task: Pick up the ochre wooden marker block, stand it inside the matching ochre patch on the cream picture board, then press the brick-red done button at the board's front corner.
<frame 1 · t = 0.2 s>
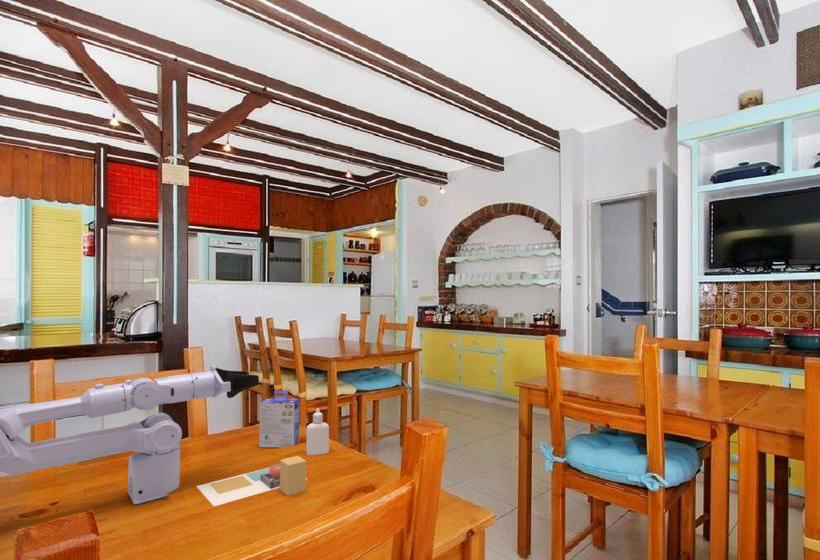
hand: (252, 377, 111), 22 cm above the table, tool horizontal, fingers open, 7 cm apart
ink cartridge box: (279, 445, 128), on the table
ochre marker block: (293, 494, 97), on the table
done button: (278, 471, 102), point 3 cm above the table, slide at 0.0 cm
picture board: (253, 486, 101), on the table
eye dropper bottle: (317, 456, 120), on the table
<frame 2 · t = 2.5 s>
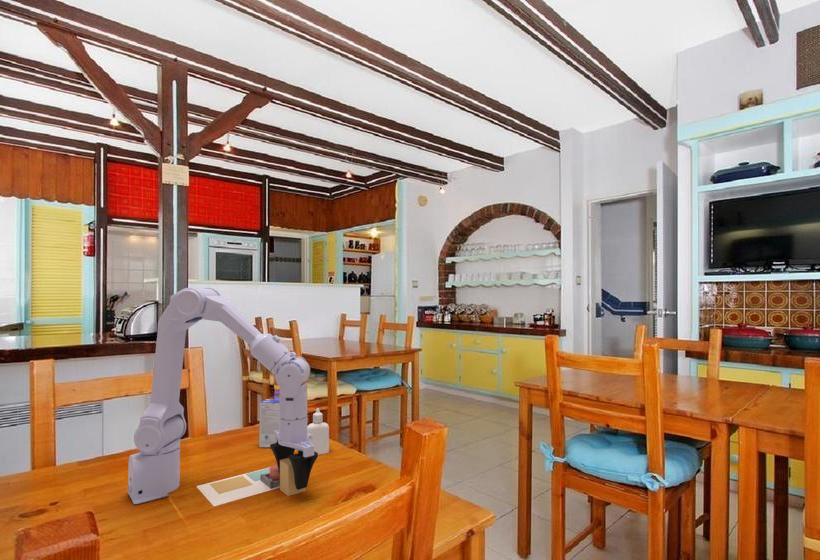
hand: (293, 482, 97), 2 cm above the table, tool pointing down, fingers open, 7 cm apart
done button: (278, 472, 102), point 3 cm above the table, slide at 0.3 cm, touching gripper
everything else where it was.
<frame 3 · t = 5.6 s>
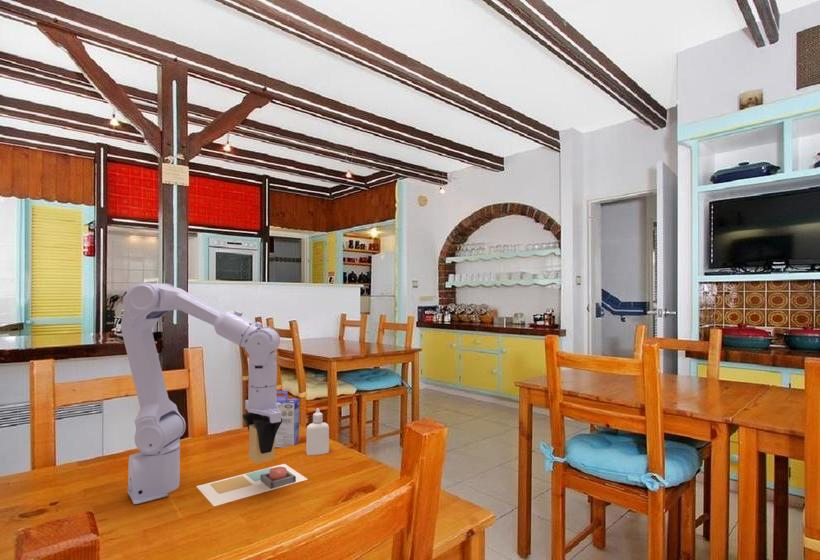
hand: (261, 449, 99), 9 cm above the table, tool pointing down, fingers closed on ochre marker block, 4 cm apart
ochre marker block: (261, 458, 99), point 7 cm above the table, touching gripper
done button: (278, 474, 102), point 2 cm above the table, slide at 0.8 cm
everything else where it was.
when the fingers open (4 cm above the table, at t = 7.8 s): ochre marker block stays where it is, resting on picture board.
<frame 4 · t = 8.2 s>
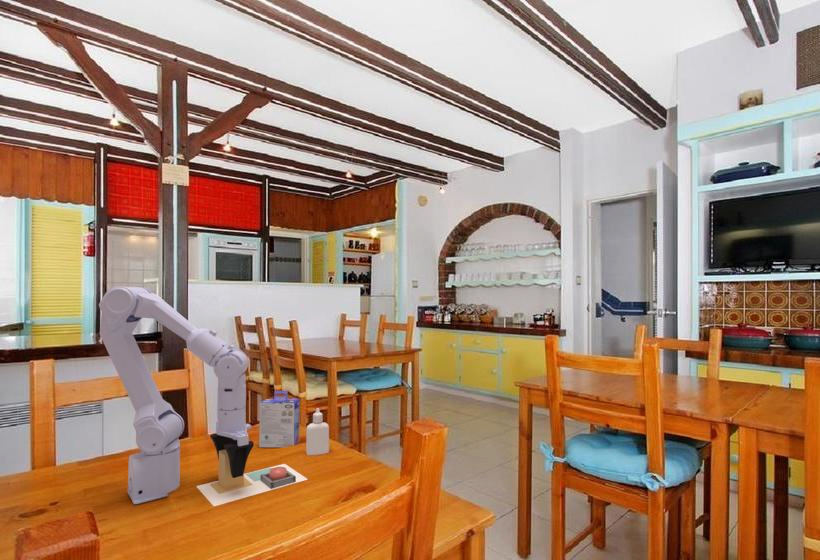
hand: (231, 471, 100), 4 cm above the table, tool pointing down, fingers open, 7 cm apart
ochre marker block: (231, 484, 100), point 1 cm above the table, touching picture board
everything else where it was.
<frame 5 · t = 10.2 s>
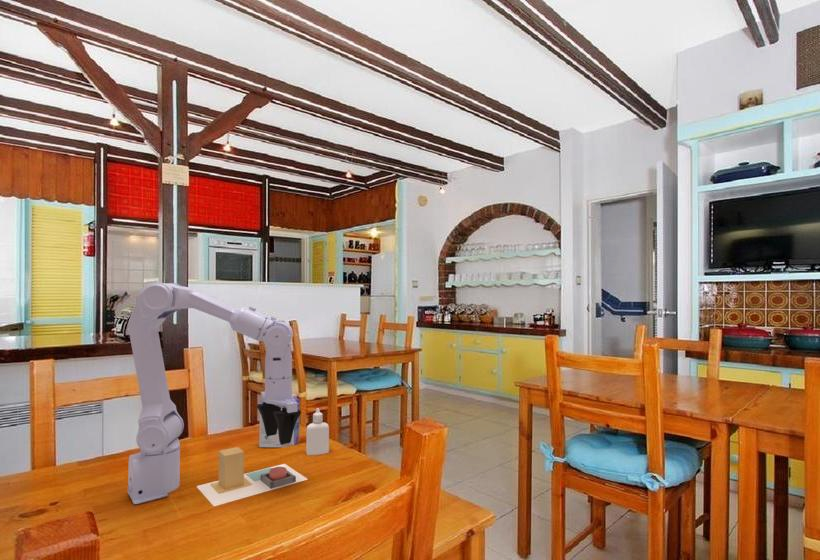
hand: (278, 439, 102), 10 cm above the table, tool pointing down, fingers open, 7 cm apart
nothing on the table moved.
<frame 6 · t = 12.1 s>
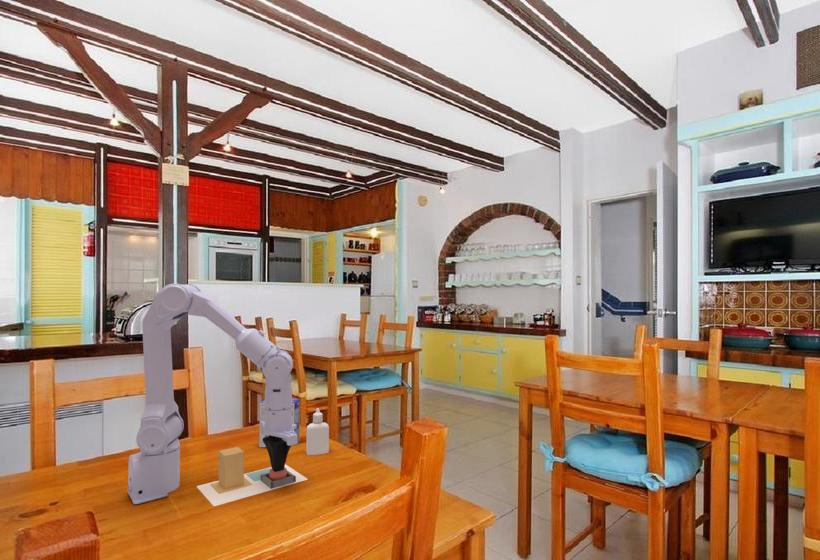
hand: (278, 469, 102), 3 cm above the table, tool pointing down, fingers closed, pressing on done button
done button: (278, 474, 102), point 2 cm above the table, slide at 0.8 cm, touching gripper
everything else where it was.
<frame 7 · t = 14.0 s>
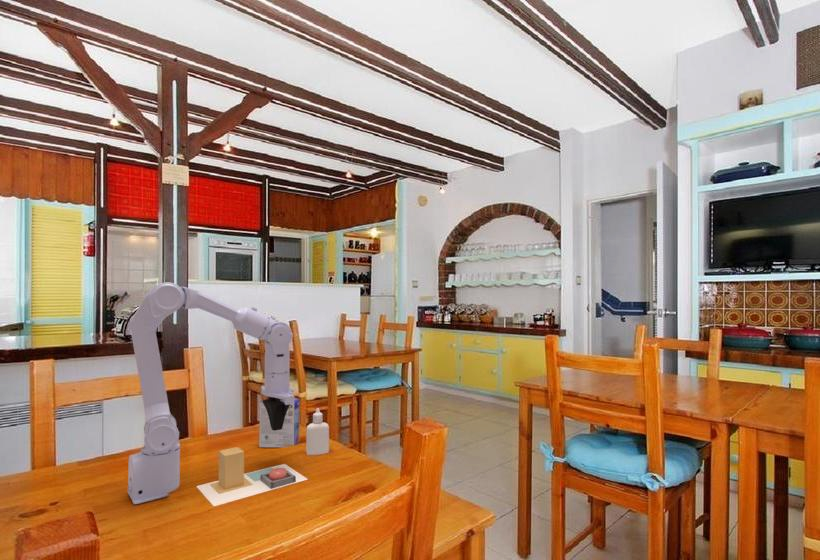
hand: (276, 429, 111), 9 cm above the table, tool pointing down, fingers closed
done button: (278, 475, 102), point 2 cm above the table, slide at 1.0 cm
everything else where it was.
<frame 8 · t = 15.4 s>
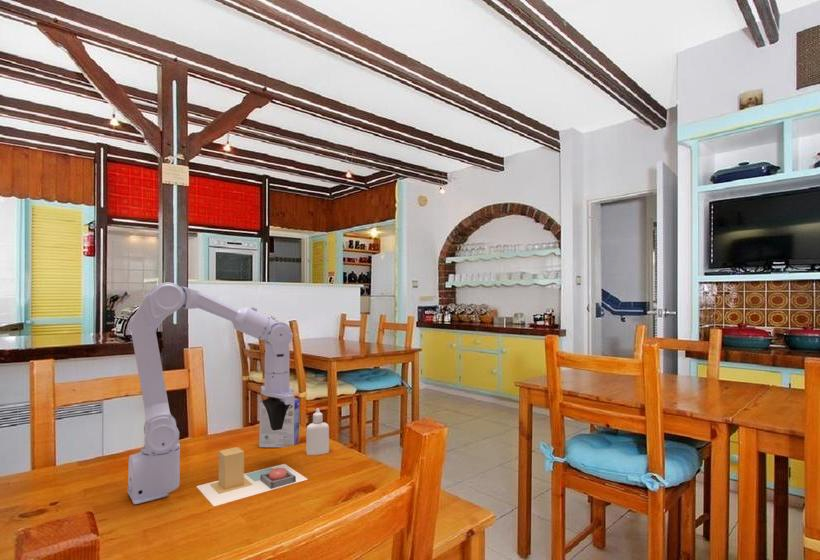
hand: (276, 429, 111), 9 cm above the table, tool pointing down, fingers closed
nothing on the table moved.
at the end: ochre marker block 0.2 cm from the target spot, point 0.9 cm above the table; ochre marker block tilted 0°; done button slide at 1.0 cm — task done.
